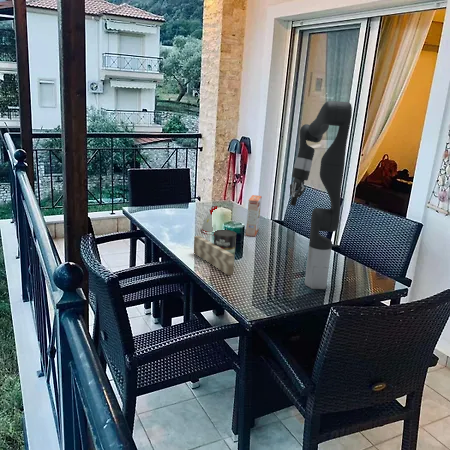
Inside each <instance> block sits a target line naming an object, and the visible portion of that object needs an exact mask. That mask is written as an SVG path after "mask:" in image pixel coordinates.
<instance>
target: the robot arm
mask: <svg viewBox="0 0 450 450" xmlns="http://www.w3.org/2000/svg"><path fill="white" fill-rule="evenodd" d="M352 114H353V107H352V103H351V102H348V101H339V100H328V101H326V102H324V104H322V106H321V108H320V110H319V111H318V114H317V116H316V118H315V119H314V120H313V121H312V122H311V123H310V124H307V123H305V124H303V125H302V126H300V127H301V128H300V129H299V148H298V152H297V157H296V159H295V163H294V166H293V171H292V173H291V178H294V179H293V181H292V183H290V184H289V194H290V197H291V200H290V203H289V205H290V206H293V207H294V206H296V205H297V202H298V199H299V198H301V196H302V195H303V194H304V193H305V190H306V189H307V188H306V187H304V186H305V181H309V177H310V173H311V168H312V163H313V159H314V156H315V152H316V151H315V148H314V147H312V146H310V145H309V144H308V143H307V142H312V143H315V144H316V143H320V142H321V141H322V139H323V136H324V134H326V133H327V131H328V130H329V127H330V126H336V127H338V130H337V133H336V136H335V138H334V140H333V142H332V143H331V144H330V146H329V147H328V148H327V150H326V151H325V152H324V153H323V155H322V157H321V160H320V168H319V169H320V170H319V177H320V181H321V182H322V185H323V187H324V188H325V190H326V192H327V194H328V197H329V201H330V208H325V207H324V208H323V207H321V208H320V207H315V208H314V209H313V210H312V212H311V218H310V232H309V242H308V243H309V244H308V249H307V257H306V258H307V260H306V267H305V276H304V277H305V278H304V285H305V286H306V287H309V288H310V289H311V290H326V289H327V286H328V285H327V284H328V279H329V278H328V277H329V272H330V271H329V270H330V262H331V254H332V247H333V241H332V240H331V239H330V238H327V237H326V236H323V235H322V234H321V233H320V232H337V230H338V228H339V224H340V213H341V212H340V211H341V196H342V195H341V193H342V187H343V185H342V184H343V178H344V173H345V172H344V171H345V162H346V151H347V144H348V139H349V133H350V127H351V121H352V116H353V115H352Z"/></svg>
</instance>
